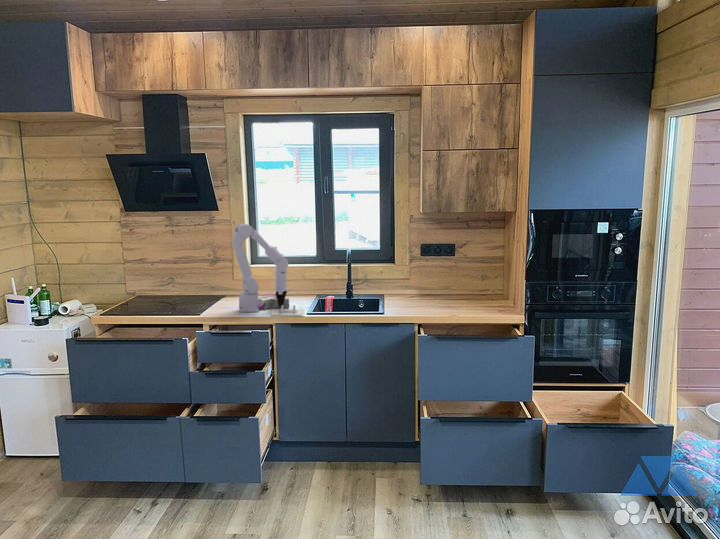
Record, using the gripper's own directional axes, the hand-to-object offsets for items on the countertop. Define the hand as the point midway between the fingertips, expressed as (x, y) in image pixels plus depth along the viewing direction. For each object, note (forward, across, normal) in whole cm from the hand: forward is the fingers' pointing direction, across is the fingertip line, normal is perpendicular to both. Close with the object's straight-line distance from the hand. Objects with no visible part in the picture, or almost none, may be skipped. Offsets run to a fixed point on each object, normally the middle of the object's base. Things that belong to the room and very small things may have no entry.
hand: (281, 305), depth 282 cm
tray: (+2, -11, -4) cm, 12 cm away
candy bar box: (-1, +14, +3) cm, 14 cm away
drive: (+1, 0, 0) cm, 1 cm away
